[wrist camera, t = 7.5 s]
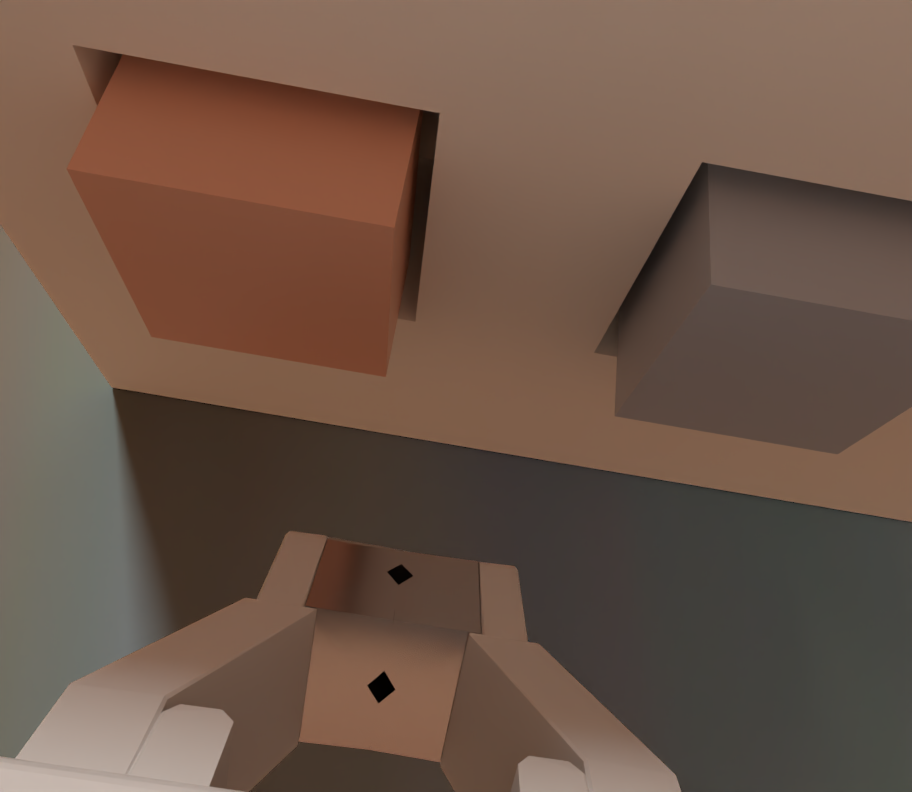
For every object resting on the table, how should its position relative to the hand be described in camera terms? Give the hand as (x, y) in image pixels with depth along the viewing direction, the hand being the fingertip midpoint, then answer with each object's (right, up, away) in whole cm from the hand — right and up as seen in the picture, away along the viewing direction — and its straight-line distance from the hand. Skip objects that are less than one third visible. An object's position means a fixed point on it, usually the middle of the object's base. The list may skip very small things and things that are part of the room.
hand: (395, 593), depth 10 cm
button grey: (+6, +3, +4) cm, 7 cm away
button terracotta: (-2, +4, +3) cm, 6 cm away
